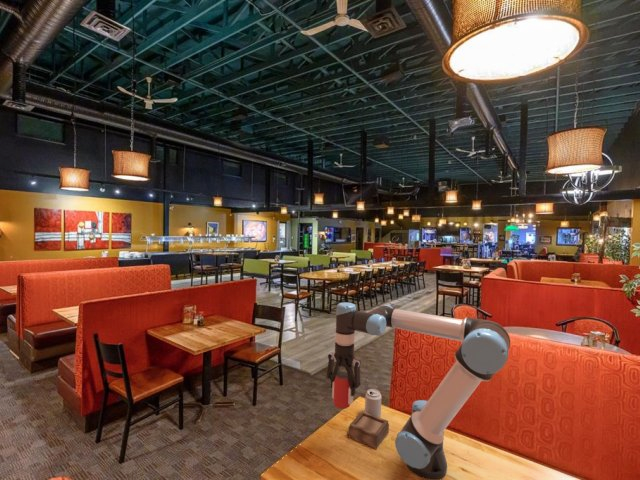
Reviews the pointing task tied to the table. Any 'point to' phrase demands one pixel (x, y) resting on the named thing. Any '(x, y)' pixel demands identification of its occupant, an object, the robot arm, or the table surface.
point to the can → (373, 402)
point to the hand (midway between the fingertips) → (342, 399)
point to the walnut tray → (368, 429)
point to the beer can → (341, 390)
